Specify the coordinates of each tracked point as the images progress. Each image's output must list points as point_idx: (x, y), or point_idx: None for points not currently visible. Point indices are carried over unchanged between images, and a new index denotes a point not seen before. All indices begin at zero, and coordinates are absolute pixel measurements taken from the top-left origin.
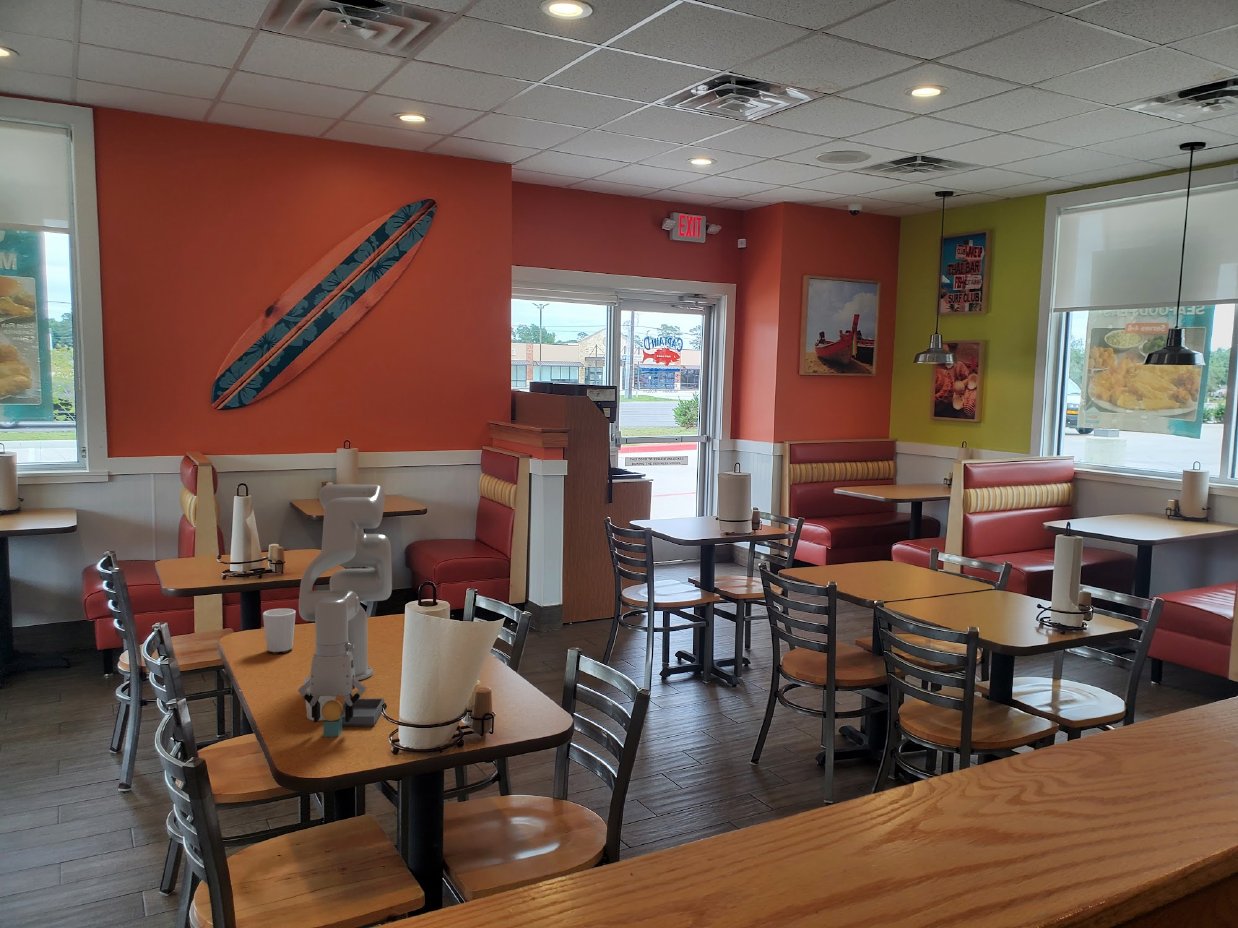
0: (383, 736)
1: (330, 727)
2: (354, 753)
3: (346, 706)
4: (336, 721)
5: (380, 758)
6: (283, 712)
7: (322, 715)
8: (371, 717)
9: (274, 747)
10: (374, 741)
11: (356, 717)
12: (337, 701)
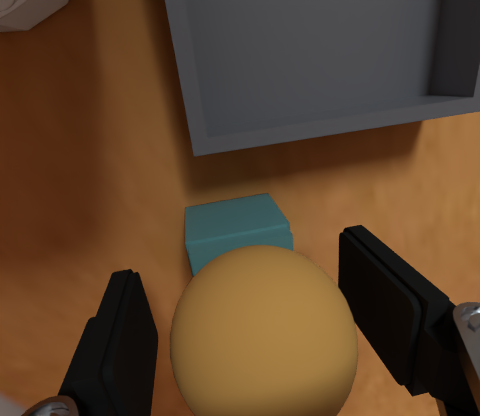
0: (472, 226)
1: None
2: (377, 375)
3: (415, 392)
4: None
5: None
6: None
7: (30, 15)
8: (459, 113)
9: None
10: (437, 278)
11: (360, 127)
12: (335, 395)
